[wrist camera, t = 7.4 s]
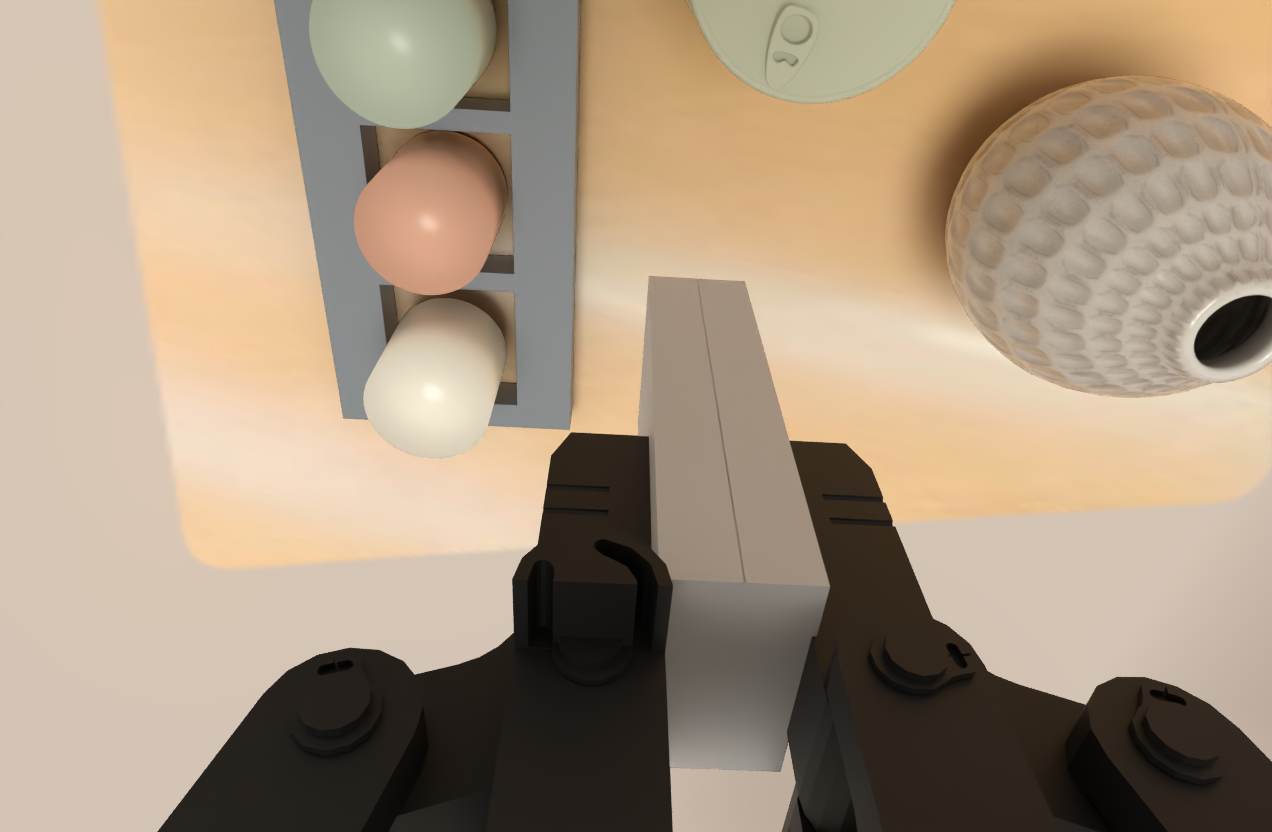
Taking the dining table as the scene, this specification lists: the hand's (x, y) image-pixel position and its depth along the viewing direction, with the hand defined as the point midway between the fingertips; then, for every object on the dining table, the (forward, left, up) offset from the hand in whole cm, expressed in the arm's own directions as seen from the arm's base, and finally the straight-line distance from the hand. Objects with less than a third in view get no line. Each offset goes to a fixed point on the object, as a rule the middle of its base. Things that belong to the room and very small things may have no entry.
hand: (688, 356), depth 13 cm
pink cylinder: (+7, -10, -29) cm, 31 cm away
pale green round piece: (-1, -10, -27) cm, 29 cm away
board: (+7, -10, -29) cm, 32 cm away
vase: (+5, +20, -30) cm, 36 cm away
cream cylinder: (+15, -10, -27) cm, 32 cm away
